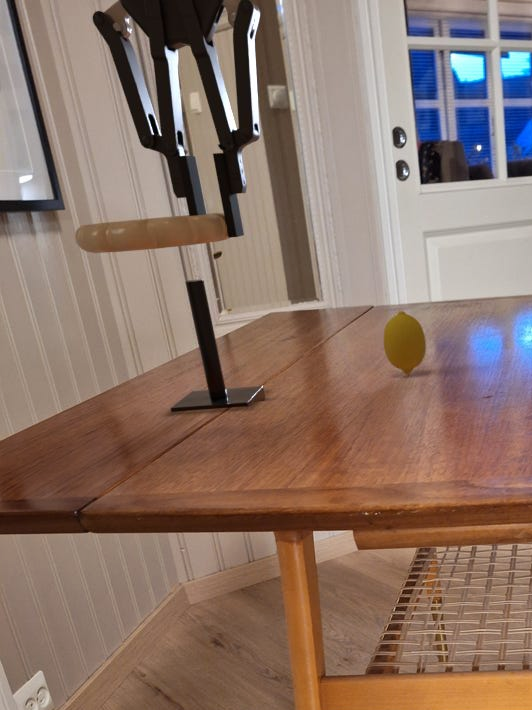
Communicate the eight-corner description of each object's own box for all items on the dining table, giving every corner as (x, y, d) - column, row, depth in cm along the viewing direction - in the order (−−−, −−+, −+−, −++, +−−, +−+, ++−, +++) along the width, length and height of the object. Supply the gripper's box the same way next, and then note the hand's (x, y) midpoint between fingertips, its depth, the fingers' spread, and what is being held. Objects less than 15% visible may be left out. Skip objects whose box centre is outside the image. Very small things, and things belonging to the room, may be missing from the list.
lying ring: (55, 257, 72) (46, 228, 71) (114, 246, 84) (108, 221, 83) (213, 244, 72) (207, 215, 71) (250, 235, 84) (245, 210, 83)
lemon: (429, 368, 118) (423, 306, 115) (427, 377, 113) (421, 312, 110) (389, 371, 119) (382, 309, 115) (385, 380, 114) (377, 315, 110)
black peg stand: (173, 420, 101) (142, 287, 94) (194, 403, 109) (167, 279, 102) (249, 415, 101) (224, 281, 94) (265, 398, 109) (242, 273, 102)
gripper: (265, -93, 70) (311, 229, 81) (77, -77, 70) (149, 241, 81) (242, -121, 63) (296, 233, 74) (35, -103, 64) (119, 247, 75)
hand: (219, 237), depth 78 cm, fingers closed on lying ring, 2 cm apart
